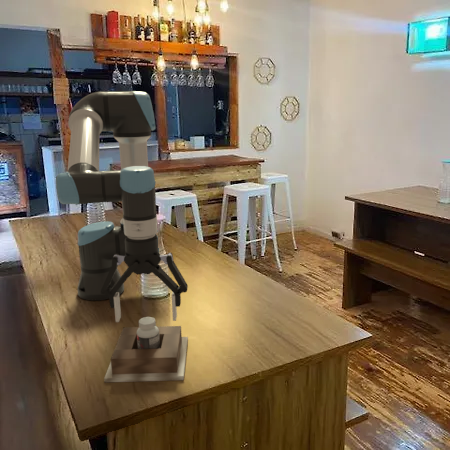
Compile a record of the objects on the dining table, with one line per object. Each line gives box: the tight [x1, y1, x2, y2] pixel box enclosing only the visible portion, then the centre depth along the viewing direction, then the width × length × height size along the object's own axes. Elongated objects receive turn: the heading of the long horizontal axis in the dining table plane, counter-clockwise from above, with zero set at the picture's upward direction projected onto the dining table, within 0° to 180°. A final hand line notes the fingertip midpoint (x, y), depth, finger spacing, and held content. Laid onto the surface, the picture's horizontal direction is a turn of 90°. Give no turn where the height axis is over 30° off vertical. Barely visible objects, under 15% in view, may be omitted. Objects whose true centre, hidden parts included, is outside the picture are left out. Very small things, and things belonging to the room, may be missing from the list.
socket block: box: [103, 325, 189, 383], centre depth 111 cm, size 18×18×5 cm
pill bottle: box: [137, 316, 160, 349], centre depth 110 cm, size 5×5×10 cm
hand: (146, 318), depth 109 cm, fingers open, 13 cm apart
